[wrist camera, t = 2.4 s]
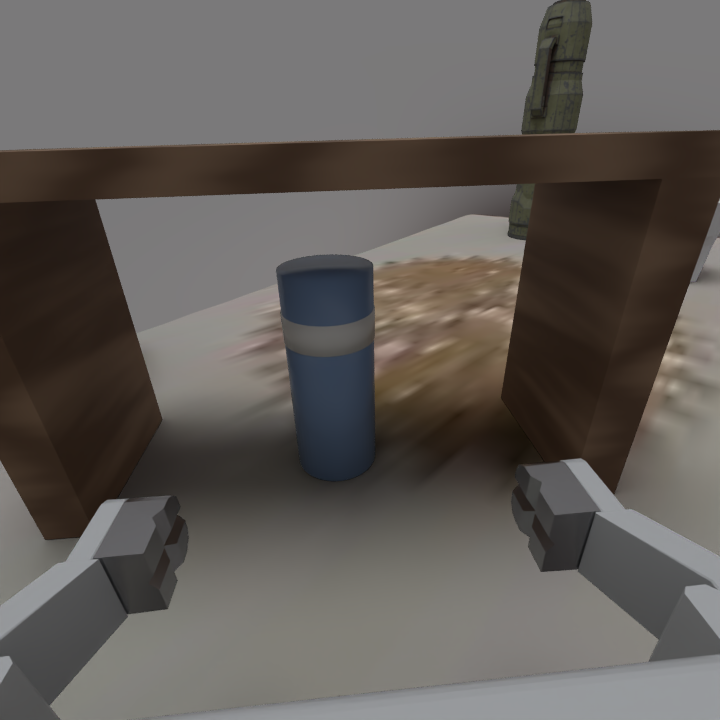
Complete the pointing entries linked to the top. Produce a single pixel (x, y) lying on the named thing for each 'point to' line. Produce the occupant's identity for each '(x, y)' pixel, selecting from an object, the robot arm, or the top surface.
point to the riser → (338, 172)
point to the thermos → (553, 89)
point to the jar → (330, 361)
